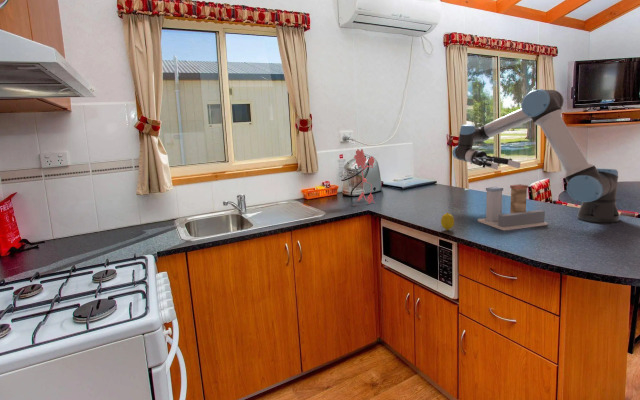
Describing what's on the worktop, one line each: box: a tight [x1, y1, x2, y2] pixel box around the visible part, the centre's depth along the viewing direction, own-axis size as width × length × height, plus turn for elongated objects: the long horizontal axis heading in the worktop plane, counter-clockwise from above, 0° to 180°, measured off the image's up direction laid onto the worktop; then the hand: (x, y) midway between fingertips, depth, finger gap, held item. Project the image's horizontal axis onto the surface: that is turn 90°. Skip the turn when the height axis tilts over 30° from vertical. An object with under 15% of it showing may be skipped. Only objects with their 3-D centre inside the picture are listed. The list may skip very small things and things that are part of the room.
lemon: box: [440, 212, 455, 231], centre depth 160 cm, size 6×6×8 cm
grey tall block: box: [485, 186, 504, 221], centre depth 167 cm, size 5×6×15 cm
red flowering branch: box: [351, 148, 376, 207], centre depth 229 cm, size 15×26×35 cm, turn 26°
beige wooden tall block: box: [509, 183, 529, 214], centre depth 169 cm, size 5×6×15 cm
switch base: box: [477, 209, 548, 231], centre depth 166 cm, size 18×22×6 cm
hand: (508, 166), depth 171 cm, fingers open, 13 cm apart
